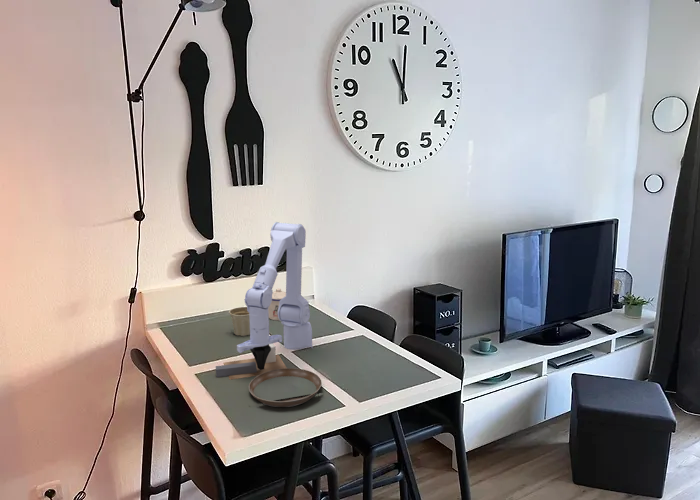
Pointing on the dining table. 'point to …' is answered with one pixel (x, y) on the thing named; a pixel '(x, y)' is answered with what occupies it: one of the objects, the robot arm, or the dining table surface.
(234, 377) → the board
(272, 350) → the pale grey block
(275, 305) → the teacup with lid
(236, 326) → the flower pot
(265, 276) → the robot arm
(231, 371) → the bar
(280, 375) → the plant saucer
